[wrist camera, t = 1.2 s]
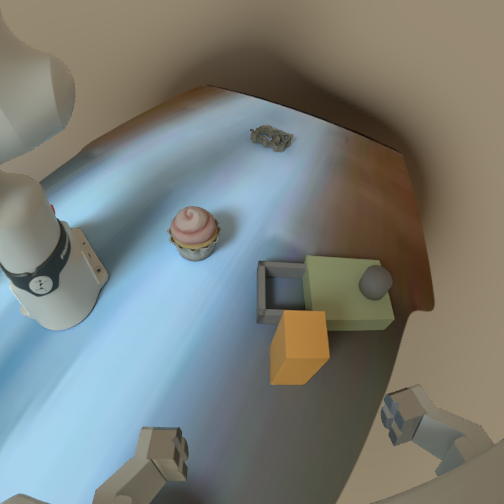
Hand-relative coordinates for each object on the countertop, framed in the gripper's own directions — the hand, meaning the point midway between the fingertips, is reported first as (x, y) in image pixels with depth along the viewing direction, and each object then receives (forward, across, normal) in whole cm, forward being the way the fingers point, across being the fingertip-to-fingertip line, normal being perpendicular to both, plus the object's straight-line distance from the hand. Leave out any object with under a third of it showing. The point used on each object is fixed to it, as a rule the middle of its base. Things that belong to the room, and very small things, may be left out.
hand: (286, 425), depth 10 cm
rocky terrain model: (+79, -11, -9) cm, 80 cm away
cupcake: (+46, +9, +8) cm, 47 cm away
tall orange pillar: (+27, -4, +21) cm, 35 cm away
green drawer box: (+37, -12, +16) cm, 42 cm away
